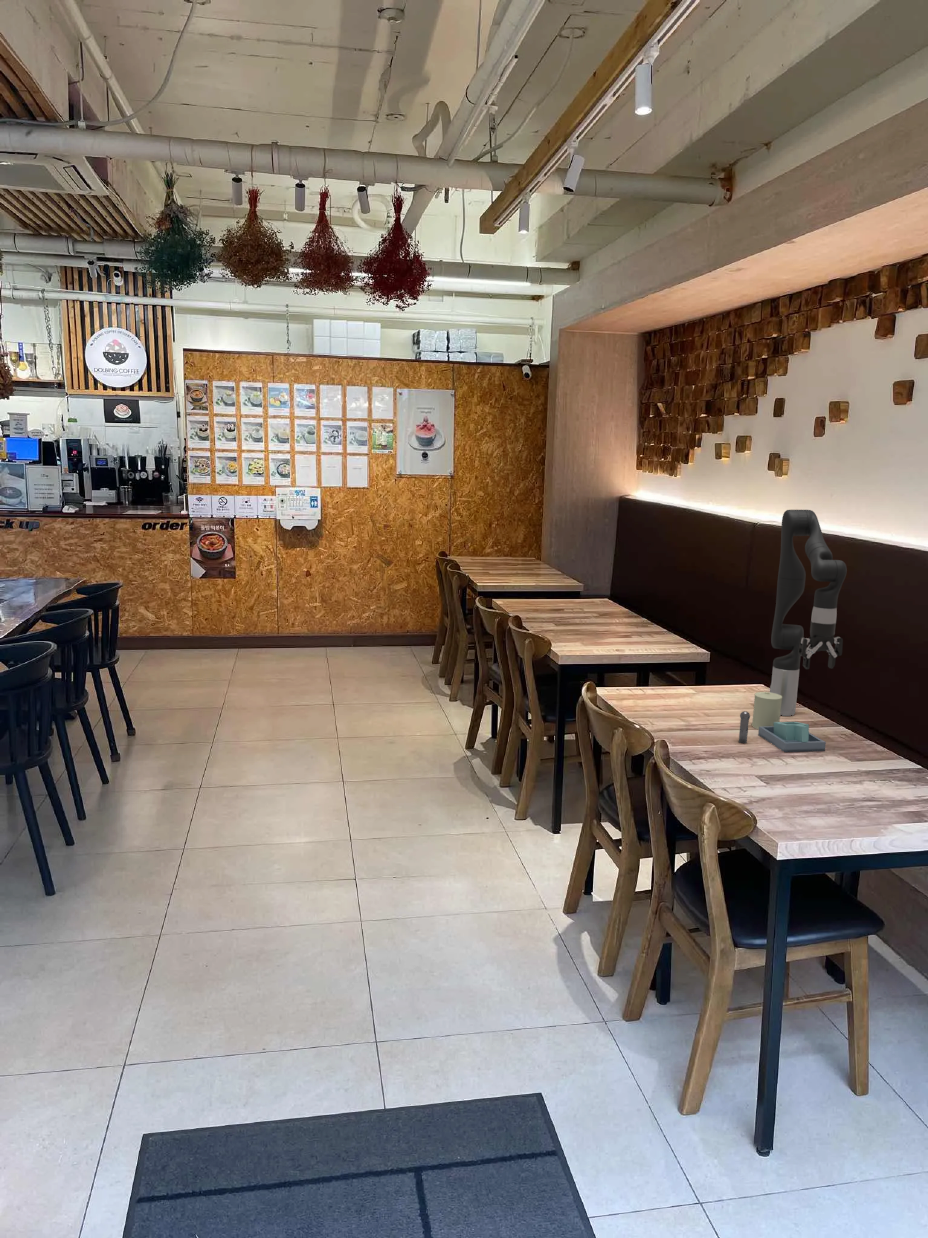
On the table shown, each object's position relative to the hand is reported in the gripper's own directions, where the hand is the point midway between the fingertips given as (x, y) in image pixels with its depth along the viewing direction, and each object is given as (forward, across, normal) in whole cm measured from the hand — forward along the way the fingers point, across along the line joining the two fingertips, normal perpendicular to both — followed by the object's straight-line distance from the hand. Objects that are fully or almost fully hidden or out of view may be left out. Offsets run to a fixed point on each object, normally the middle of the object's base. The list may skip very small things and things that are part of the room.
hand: (818, 668), depth 288 cm
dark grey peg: (+24, +25, +2) cm, 35 cm away
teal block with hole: (+22, +9, +6) cm, 25 cm away
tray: (+24, +9, +3) cm, 26 cm away
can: (+25, +9, -14) cm, 30 cm away
